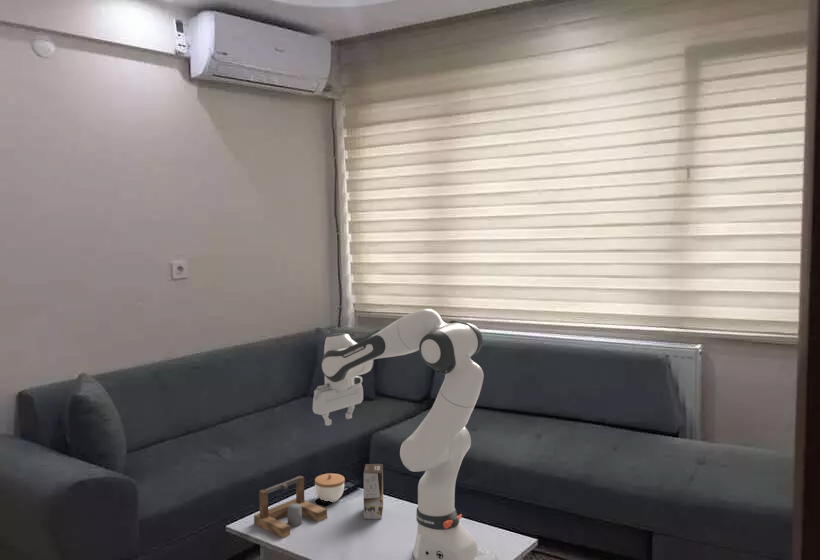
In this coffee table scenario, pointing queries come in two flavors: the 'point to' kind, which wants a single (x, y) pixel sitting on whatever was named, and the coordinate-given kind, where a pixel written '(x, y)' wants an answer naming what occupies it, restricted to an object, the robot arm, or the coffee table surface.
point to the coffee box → (373, 491)
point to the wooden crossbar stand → (285, 508)
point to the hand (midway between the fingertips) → (338, 421)
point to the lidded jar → (329, 486)
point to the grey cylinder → (294, 515)
